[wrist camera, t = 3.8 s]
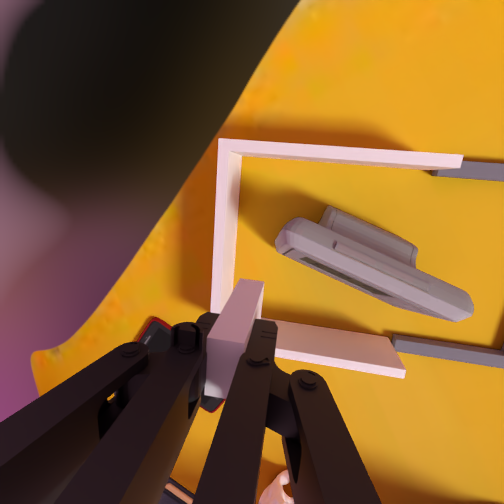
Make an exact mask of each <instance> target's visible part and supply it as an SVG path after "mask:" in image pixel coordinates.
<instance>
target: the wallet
mask: <svg viewBox="0 0 504 504" xmlns="http://www.w3.org/2000/svg"><path fill="white" fill-rule="evenodd" d="M194 496H195V495H194V494H193V493H191V492H190V491H188V490H187V489H186V488H184V487H183V486H181V485H180V484H179V483H177V482H176V481H174V480H173V479H172V478H170V477H169V479H168V482H167V484H166V486H165V489H164V491H163V493H162V496H161V498H160V500H159V503H158V504H192V502H193V499H194Z"/></svg>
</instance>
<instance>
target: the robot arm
mask: <svg viewBox="0 0 504 504" xmlns="http://www.w3.org/2000/svg"><path fill="white" fill-rule="evenodd" d="M263 290H264V282H262V281H255V280H247V279H240V280H239V281H238V283H237V285H236V287H235V288H234V290H233V292H232V294H231V295H230V297H229V299H228V301H227V303H226V304H225V306H224V308H223V310H222V311H221V313H220V314H218V313H211V312H206V313H204V314H203V315H201V316H200V317H199V318H198V320H197V321H196V323H193V322H183V323H179V324H176V325H174V326H173V327H171V346H170V348H169V349H168V350H167V351H165V352H150V353H149V348H148V346H147V345H146V344H144V343H141V342H129V343H124V344H122V345H120V346H118V347H116V348H115V349H113V350H112V351H110V352H109V353H107V354H106V355H104V356H103V357H101V358H99V359H98V360H96V361H95V362H93V363H92V364H90V365H89V366H87V367H86V368H84V369H82V370H81V371H79V372H78V373H76V374H75V375H73V376H72V377H70V378H68V379H67V380H65V381H64V382H62V383H61V384H59V385H58V386H56V387H55V388H53V389H51V390H50V391H48V392H47V393H45V394H44V395H42V396H41V397H39V398H38V399H36V400H35V401H33V402H31V403H30V404H28V405H27V406H25V407H24V408H22V409H21V410H19V411H17V412H16V413H14V414H13V415H11V416H10V417H9V418H7V419H5V420H4V421H2V422H0V504H158V503H159V500H160V498H161V496H162V493H163V491H164V489H165V486H166V484H167V482H168V479H169V477H170V475H171V472H172V470H173V468H174V465H175V463H176V460H177V458H178V456H179V453H180V451H181V449H182V446H183V444H184V442H185V439H186V437H187V435H188V432H189V430H190V427H191V425H192V423H193V420H194V418H195V416H196V413H197V411H198V409H199V406H200V402H201V392H202V390H203V388H204V386H205V392H204V395H207V396H213V397H218V398H223V399H226V401H225V404H224V407H223V410H222V413H221V416H220V419H219V423H218V426H217V429H216V432H215V435H214V438H213V441H212V444H211V447H210V450H209V453H208V456H207V459H206V462H205V465H204V468H203V471H202V475H201V478H200V481H199V484H198V487H197V490H196V493H195V496H194V499H193V502H192V504H255V502H256V494H257V487H258V479H259V472H260V464H261V457H262V449H263V442H264V434H265V428H266V427H267V428H269V429H271V430H273V431H275V432H277V433H279V434H280V435H282V444H283V449H284V454H285V459H286V464H287V469H288V474H289V479H290V485H291V490H292V495H293V500H294V504H382V503H381V501H380V499H379V497H378V495H377V492H376V490H375V488H374V486H373V484H372V481H371V479H370V477H369V475H368V473H367V471H366V468H365V466H364V464H363V462H362V460H361V457H360V455H359V453H358V451H357V449H356V446H355V444H354V442H353V440H352V438H351V436H350V433H349V431H348V429H347V427H346V425H345V422H344V420H343V418H342V416H341V414H340V412H339V409H338V407H337V405H336V403H335V401H334V398H333V396H332V394H331V392H330V390H329V388H328V385H327V383H326V381H325V380H324V379H323V377H321V376H320V375H319V374H317V373H315V372H313V371H310V370H304V369H303V370H297V371H295V372H293V373H292V374H291V375H290V374H287V373H285V372H284V371H282V370H281V369H279V368H278V367H277V366H276V364H275V362H274V357H275V349H276V341H277V332H278V326H277V325H276V323H275V321H269V320H262V319H261V311H262V301H263ZM113 393H114V395H115V396H114V397H113V398H112V399H110V400H108V401H107V398H108V397H109V396H111V395H112V394H113Z"/></svg>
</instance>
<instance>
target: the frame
mask: <svg viewBox="0 0 504 504" xmlns="http://www.w3.org/2000/svg"><path fill="white" fill-rule="evenodd" d="M432 176H441V177H454V178H466V179H479V180H492V181H504V164H499V163H485V162H471V161H462V163H461V167H460V168H455V169H439V170H433V172H432ZM391 344H392V345H393V347H394V349H395V351H397V352H403V353H409V354H416V355H422V356H428V357H434V358H441V359H447V360H453V361H460V362H466V363H472V364H478V365H485V366H491V367H497V368H504V343H503V346H502V349H501V350H496V349H489V348H483V347H476V346H469V345H463V344H456V343H450V342H443V341H436V340H430V339H423V338H417V337H410V336H403V335H397V334H393V337H392V341H391Z"/></svg>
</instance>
